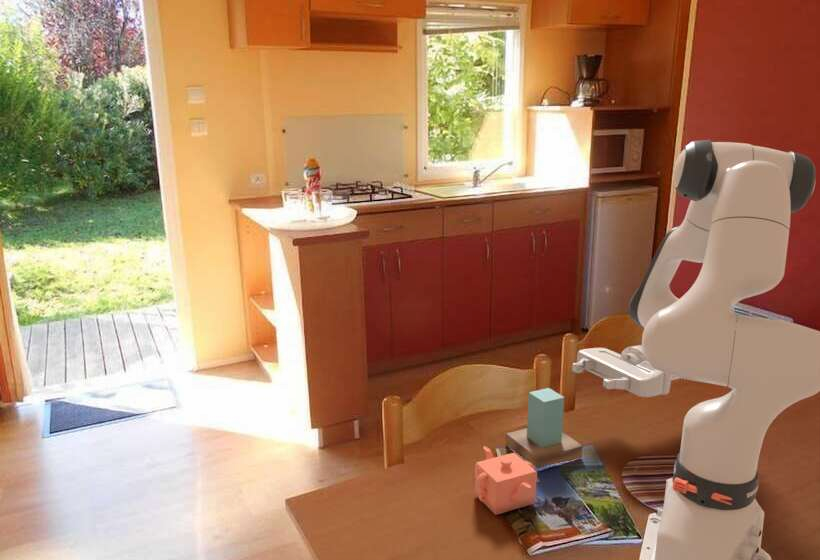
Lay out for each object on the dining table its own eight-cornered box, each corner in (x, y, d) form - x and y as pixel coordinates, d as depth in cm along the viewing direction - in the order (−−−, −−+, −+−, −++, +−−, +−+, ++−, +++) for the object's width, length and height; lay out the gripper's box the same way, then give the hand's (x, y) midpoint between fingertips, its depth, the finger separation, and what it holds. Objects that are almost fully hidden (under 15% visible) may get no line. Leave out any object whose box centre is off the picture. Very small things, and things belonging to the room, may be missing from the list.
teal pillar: (561, 442, 131) (564, 397, 129) (541, 447, 129) (544, 402, 126) (546, 431, 136) (548, 387, 133) (526, 436, 133) (528, 392, 131)
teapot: (498, 534, 108) (500, 490, 106) (455, 487, 121) (456, 448, 119) (556, 516, 113) (559, 473, 110) (509, 473, 126) (510, 434, 124)
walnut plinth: (581, 459, 131) (582, 445, 130) (537, 472, 126) (538, 458, 125) (548, 435, 140) (548, 422, 139) (505, 446, 136) (506, 433, 135)
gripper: (606, 338, 148) (558, 346, 142) (678, 368, 130) (626, 379, 124) (604, 363, 149) (556, 373, 143) (674, 397, 131) (623, 409, 125)
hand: (589, 376), depth 133 cm, fingers open, 8 cm apart
